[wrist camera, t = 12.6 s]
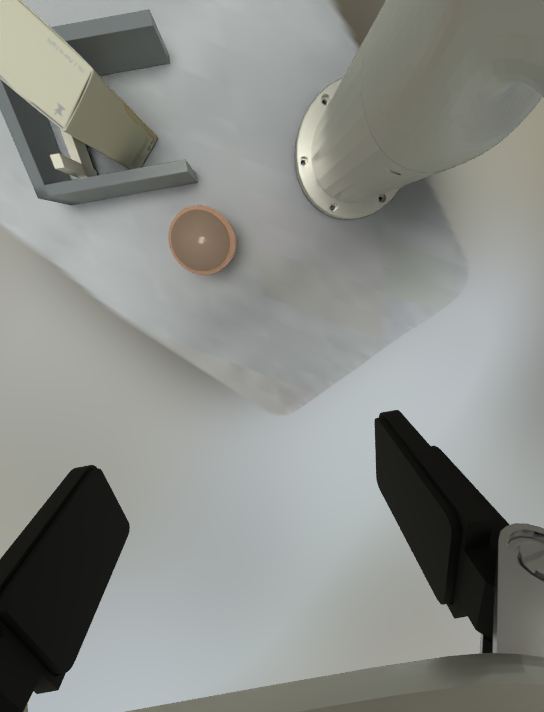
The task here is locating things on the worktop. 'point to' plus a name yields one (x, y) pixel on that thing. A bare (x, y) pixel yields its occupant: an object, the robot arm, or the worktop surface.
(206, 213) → the jar
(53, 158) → the bar
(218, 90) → the worktop surface
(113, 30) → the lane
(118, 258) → the worktop surface
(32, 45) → the skincare box
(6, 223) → the worktop surface
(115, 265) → the worktop surface
